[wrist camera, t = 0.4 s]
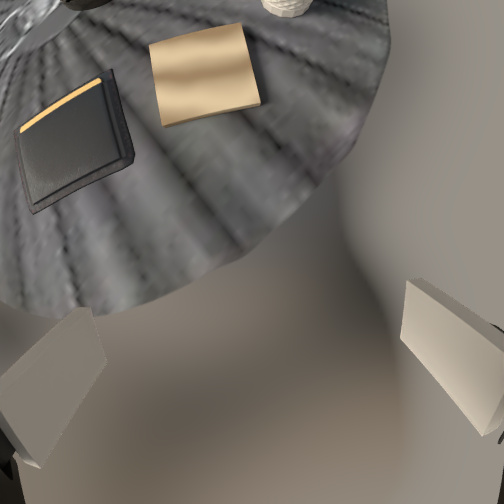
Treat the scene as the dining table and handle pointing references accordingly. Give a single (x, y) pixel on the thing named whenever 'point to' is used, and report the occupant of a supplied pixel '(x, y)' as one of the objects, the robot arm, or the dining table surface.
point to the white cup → (286, 7)
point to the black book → (73, 142)
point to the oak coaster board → (203, 74)
